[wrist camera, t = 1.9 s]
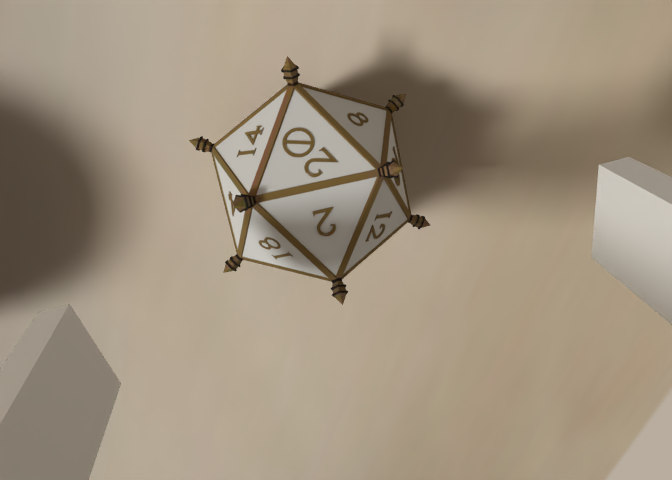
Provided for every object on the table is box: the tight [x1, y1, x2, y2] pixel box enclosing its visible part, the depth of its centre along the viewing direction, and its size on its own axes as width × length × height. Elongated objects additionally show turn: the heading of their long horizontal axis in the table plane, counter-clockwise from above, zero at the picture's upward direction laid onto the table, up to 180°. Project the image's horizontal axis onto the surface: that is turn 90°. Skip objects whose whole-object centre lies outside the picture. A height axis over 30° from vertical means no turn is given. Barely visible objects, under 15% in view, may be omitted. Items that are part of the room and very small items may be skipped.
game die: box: [189, 56, 430, 305], centre depth 18 cm, size 9×8×10 cm
